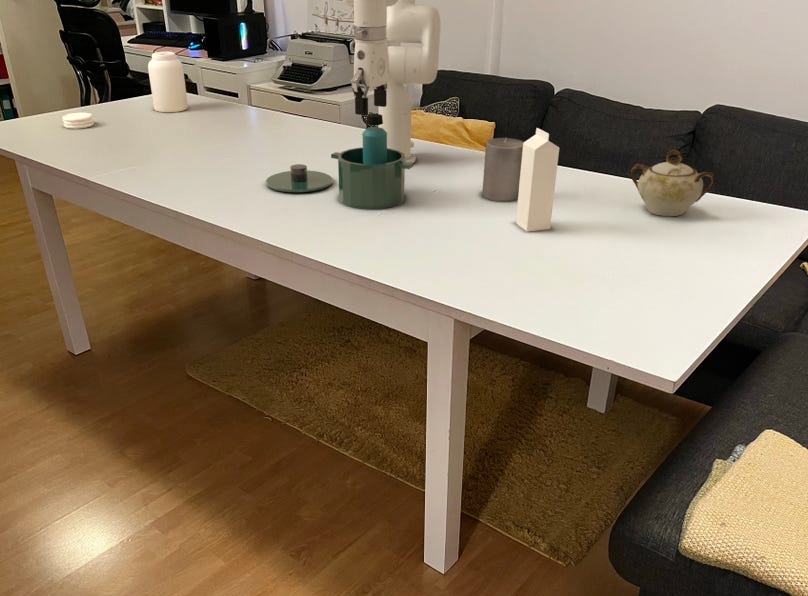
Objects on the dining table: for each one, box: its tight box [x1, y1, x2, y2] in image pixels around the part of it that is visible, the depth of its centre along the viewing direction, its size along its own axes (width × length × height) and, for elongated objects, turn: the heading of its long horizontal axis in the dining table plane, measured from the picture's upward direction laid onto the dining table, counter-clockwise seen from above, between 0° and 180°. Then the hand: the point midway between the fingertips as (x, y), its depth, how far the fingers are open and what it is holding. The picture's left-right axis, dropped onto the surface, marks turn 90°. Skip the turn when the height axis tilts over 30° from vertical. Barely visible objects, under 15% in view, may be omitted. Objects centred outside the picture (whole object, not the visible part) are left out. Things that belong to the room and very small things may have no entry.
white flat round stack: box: [61, 112, 95, 130], centre depth 259 cm, size 10×10×4 cm
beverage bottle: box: [361, 113, 388, 164], centre depth 189 cm, size 6×7×20 cm
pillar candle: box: [481, 136, 525, 202], centre depth 190 cm, size 10×10×15 cm
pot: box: [330, 146, 414, 210], centre depth 189 cm, size 17×22×11 cm
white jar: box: [147, 51, 189, 113], centre depth 277 cm, size 12×12×20 cm
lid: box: [265, 163, 333, 193], centre depth 201 cm, size 18×18×5 cm
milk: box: [515, 127, 560, 233], centre depth 169 cm, size 6×6×22 cm
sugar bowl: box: [629, 149, 716, 217], centre depth 180 cm, size 20×15×15 cm
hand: (371, 110), depth 181 cm, fingers open, 9 cm apart
